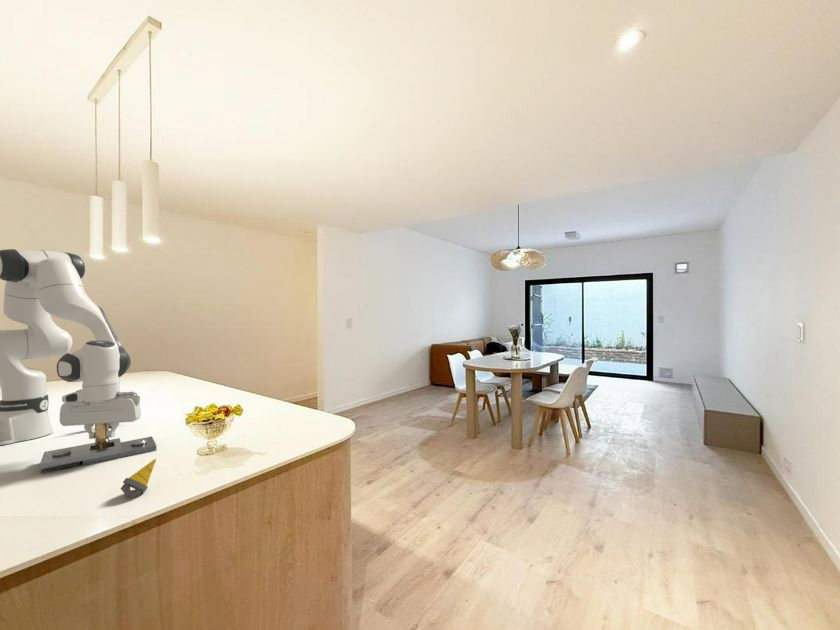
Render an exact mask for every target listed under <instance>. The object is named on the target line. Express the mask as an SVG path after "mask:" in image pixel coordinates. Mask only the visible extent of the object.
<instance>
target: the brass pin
mask: <svg viewBox="0 0 840 630" xmlns="http://www.w3.org/2000/svg"><path fill="white" fill-rule="evenodd" d="M94 430H95V438H94V443H95V450H98V449H103V448H108V447H109V440H110V437H109V438H107V437H106V436H107V435H106V432H108V431H110V427H109V423H106V424H94Z"/></svg>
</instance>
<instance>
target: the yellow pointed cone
mask: <svg viewBox="0 0 840 630" xmlns="http://www.w3.org/2000/svg"><path fill="white" fill-rule="evenodd" d="M156 460H157V458H155V459H153V460H152V461H150V462H149V463H148V464H146V465H145V466H144V467H141V468H140V469H139V470H138V471H136V472H135V473H134V474H132V475H131V476H129V477H126V478H125V479H124V480H123V482H122V483H123V484H122V486H121V487H120V490H121V491H122V493H123V495H125V497H124V499H126V500H127V499H131V498H132V499H133V498H137V497H140V495H141V494H142V493H143V492H144V493H145V492H146V491H147V489H148V488H149V487H148V483H149V481H150V478H151V475H152V472H153V470H154V466H155V463H156ZM131 488H132V489H131Z"/></svg>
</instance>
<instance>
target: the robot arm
mask: <svg viewBox="0 0 840 630" xmlns="http://www.w3.org/2000/svg"><path fill="white" fill-rule="evenodd" d="M85 272H86V265H85V261H84V260H83V259H82V257H81V256H79V255H78V254H75V253H71V252H61V251H54V250H46V249H45V250H43V249H40V250H38V249H37V250H35V249H14V248H10V249H9V248H8V249H1V250H0V280H2V281H5V285H4V293H3V310H2V311H3V314H4V316H6V318H8V319H10V320H11V321H14V322H17V323H20V324H23V325H26V326H27V328H24V329H0V389H1V390H0V391H1V400H0V446H5V445H10V444H13V443H18V442H23V441H29V440H33V439H37V438H41V437H45V436H47V435H50V434H51V433H53V432H54V429H53V427H52V425H51V421H50V417H49V411H48V410H49V395H48V394H47V388H48V387H47V375H46V374H45V373H44V372H43V371H40V370H39V369H38V370H37V369H36V368H31V367H26V366H24V365H23V360H24V361H25V360H35V359H37V360H38V359H48V358H49V359H50V358H54V357H59V356H61V357H60V359H58V361H57V363H56V372H57V373H56V374H57V376H58V377H59V378H60V379H62V380H63V381H65V382H68V383H80V382H82V385H81V386H82V387H81V388H80V389H78V390H76V391H73V392H70V393H67V394H64V395H62V397H61V402H63V404H61V406H60V409H59V423H60V425H61V426H63V427H69V426H70V427H72V426H74V427H75V426H83V427H84V430H85V431H86V433H87V434H88V439H89V440H90V439H91V440H92V439H94V440H95V428H93V427H95V424H106V423H110V427H109V428H110V429H109V431H108V432H106V435H107V436H106V437H107V438H109V439H110V438H114V437H115V436H116V430H117V428H118V427H119V426H120V423H133V422H136V421H138V420H139V419H140V418H141V417H142V410H141V405H140V402H141V396H140V395H139V394H138V393H137V392H135V391H128V392H127V391H121V380H120V377H122V376H124V375H125V374H126V373H127V372H128V370H129V368H131V364H132V360H131V357H130V355H129V353H128V352H127V350H126V349H125V348H124V347H123V345H122V344H121V342H120V339H119V338H118V336H117V333H116V332H115V329H114V328H113V326H112V324H111V322H110V320H109V318H108V317H107V314H106V313H105V311H104V310H103V308H102V307H100V306H98V305H97V304H96V303H95V302H94V301H93V300H92V299H91V298H90V297H89V296H88V294H87V293H86V291H85V287H84V284H83V282H82V279H83V278H84V277H85ZM51 316H54V317H56V318H59V319H62V320H67V321H69V322H70V321H71V322H74V323H77V324H81V325H83V326H84V327H87V328H88V329H89V330H90V331H91V332H92V335H93V337H94V338H95V340H89V341H87V342H85V343H84V344H83V345H82V347H81V348H78V349H77V350H74V351H71V349H72V347H73V342H74V341H73V340H74V339H73V337H72V336H71V334H70V333H69V332H68V331H67V330H66V329H62V328H61V327H59V326H58V325H57V324H56V323H55V322H54V319H53V318H52V317H51ZM70 351H71V352H70Z"/></svg>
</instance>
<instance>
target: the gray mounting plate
mask: <svg viewBox="0 0 840 630" xmlns="http://www.w3.org/2000/svg"><path fill="white" fill-rule="evenodd" d="M155 451H157V444H156V442H155V440H154V437H153V436H146V437H142V438H137V439H132V440H131V439H130V440H127V441H121V438H120V437H118V438H113V439H112V438H111V439H109V447H108V448H103V449H98V450H95V442H91V443H90V442H89V443H86V444H80V445H75V446H69V447H64V448H63V447H62V448H59V449H52V450H47V451H44V452H43V455H42V457H41V460H40V463H39V470H40V473H46V472H50V471H55V470H59V469H65V468H68V467H75V466H79V465H81V462H82V466H89V465H93V464H99V463H103V462H107V461H112V460H117V459H122V458H127V457H130V456H135V455H140V454H146V453H150V452H155Z"/></svg>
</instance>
